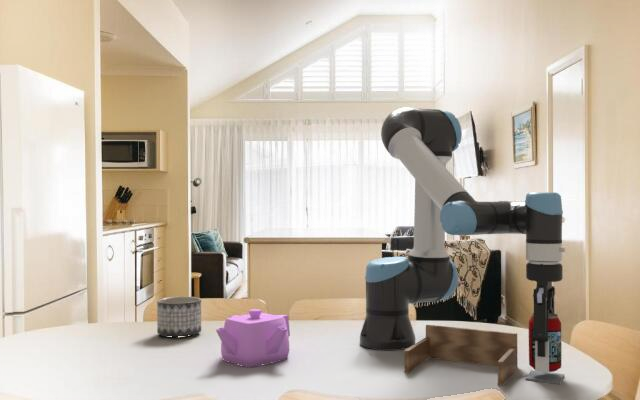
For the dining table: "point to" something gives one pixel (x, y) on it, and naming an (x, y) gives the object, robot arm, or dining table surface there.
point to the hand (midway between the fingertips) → (544, 366)
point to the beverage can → (553, 339)
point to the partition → (466, 349)
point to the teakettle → (255, 338)
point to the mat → (545, 377)
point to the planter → (179, 316)
